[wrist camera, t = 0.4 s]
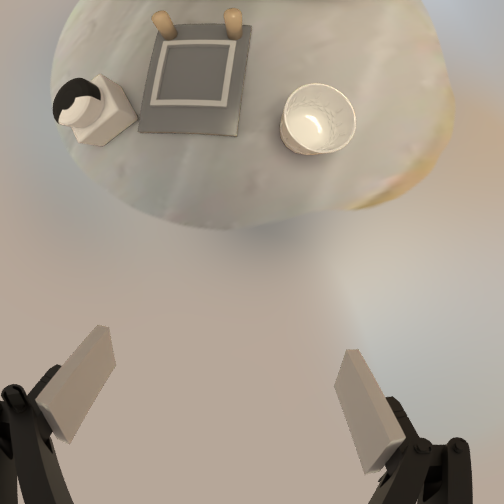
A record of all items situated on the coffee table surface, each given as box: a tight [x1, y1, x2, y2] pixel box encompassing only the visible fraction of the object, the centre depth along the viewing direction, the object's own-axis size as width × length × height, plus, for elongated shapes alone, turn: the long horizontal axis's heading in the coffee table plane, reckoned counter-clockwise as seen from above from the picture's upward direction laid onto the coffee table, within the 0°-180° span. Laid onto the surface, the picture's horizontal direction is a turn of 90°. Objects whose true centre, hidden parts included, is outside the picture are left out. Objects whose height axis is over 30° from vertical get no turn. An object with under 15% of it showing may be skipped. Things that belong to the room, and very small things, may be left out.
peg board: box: [138, 8, 252, 137], centre depth 29 cm, size 18×14×7 cm
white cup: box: [280, 83, 356, 155], centre depth 31 cm, size 8×8×10 cm
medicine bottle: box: [53, 74, 138, 146], centre depth 28 cm, size 7×7×12 cm
